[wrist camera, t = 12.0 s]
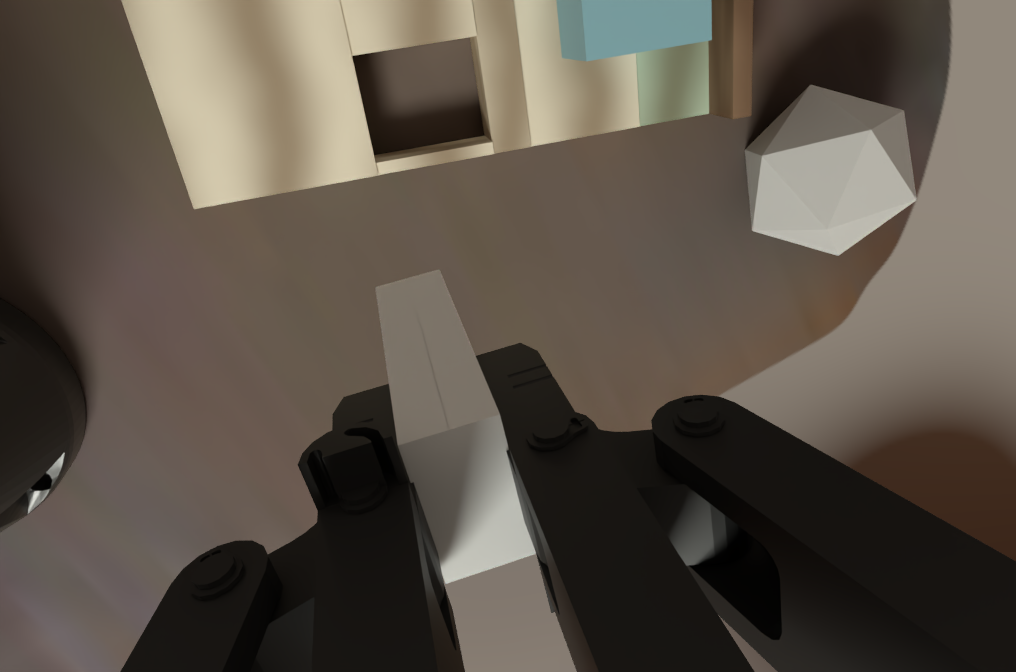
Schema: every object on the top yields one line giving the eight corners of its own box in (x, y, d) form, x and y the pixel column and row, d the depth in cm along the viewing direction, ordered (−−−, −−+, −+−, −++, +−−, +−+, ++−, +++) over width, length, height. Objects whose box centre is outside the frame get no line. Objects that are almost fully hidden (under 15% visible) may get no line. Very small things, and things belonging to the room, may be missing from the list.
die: (716, 243, 43) (871, 302, 38) (699, 154, 36) (887, 212, 31) (781, 146, 44) (939, 190, 39) (777, 42, 37) (970, 79, 32)
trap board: (204, 197, 35) (183, 220, 31) (95, -122, 29) (52, -148, 25) (708, 106, 39) (751, 115, 34) (705, -196, 33) (757, -230, 28)
